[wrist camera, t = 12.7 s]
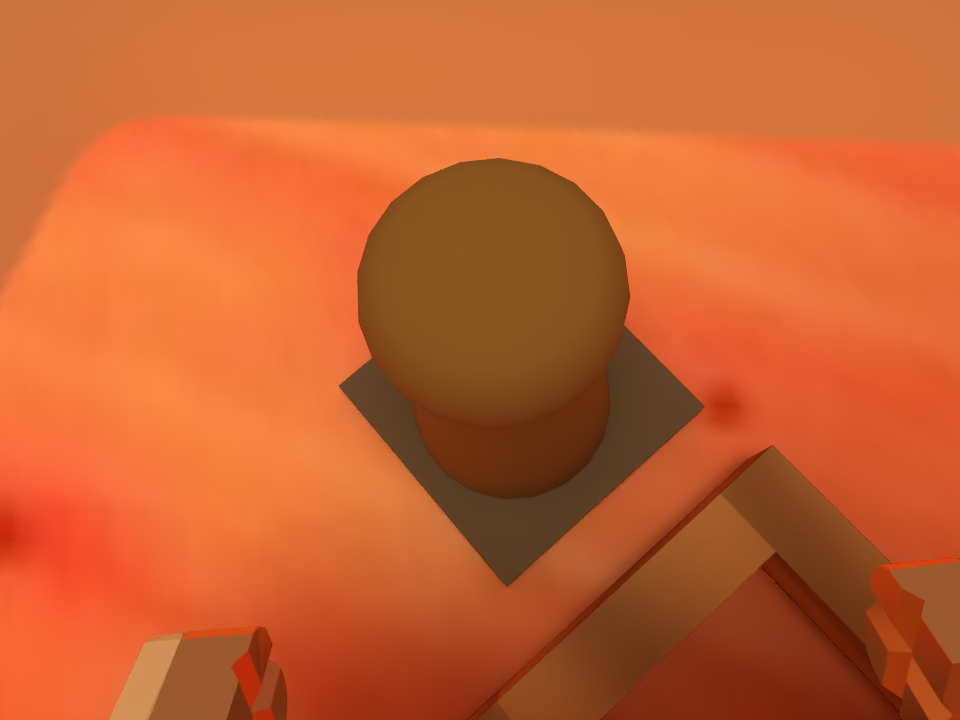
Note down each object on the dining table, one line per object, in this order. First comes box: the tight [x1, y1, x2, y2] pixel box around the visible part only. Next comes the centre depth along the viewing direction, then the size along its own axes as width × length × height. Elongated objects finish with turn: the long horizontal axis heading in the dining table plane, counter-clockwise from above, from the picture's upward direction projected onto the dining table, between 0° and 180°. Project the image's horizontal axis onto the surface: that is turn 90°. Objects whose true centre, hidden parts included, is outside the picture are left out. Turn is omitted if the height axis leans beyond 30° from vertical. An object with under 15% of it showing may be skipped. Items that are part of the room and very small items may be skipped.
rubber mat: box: [339, 326, 705, 586], centre depth 24 cm, size 8×8×1 cm
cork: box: [357, 158, 630, 499], centre depth 19 cm, size 6×6×11 cm
